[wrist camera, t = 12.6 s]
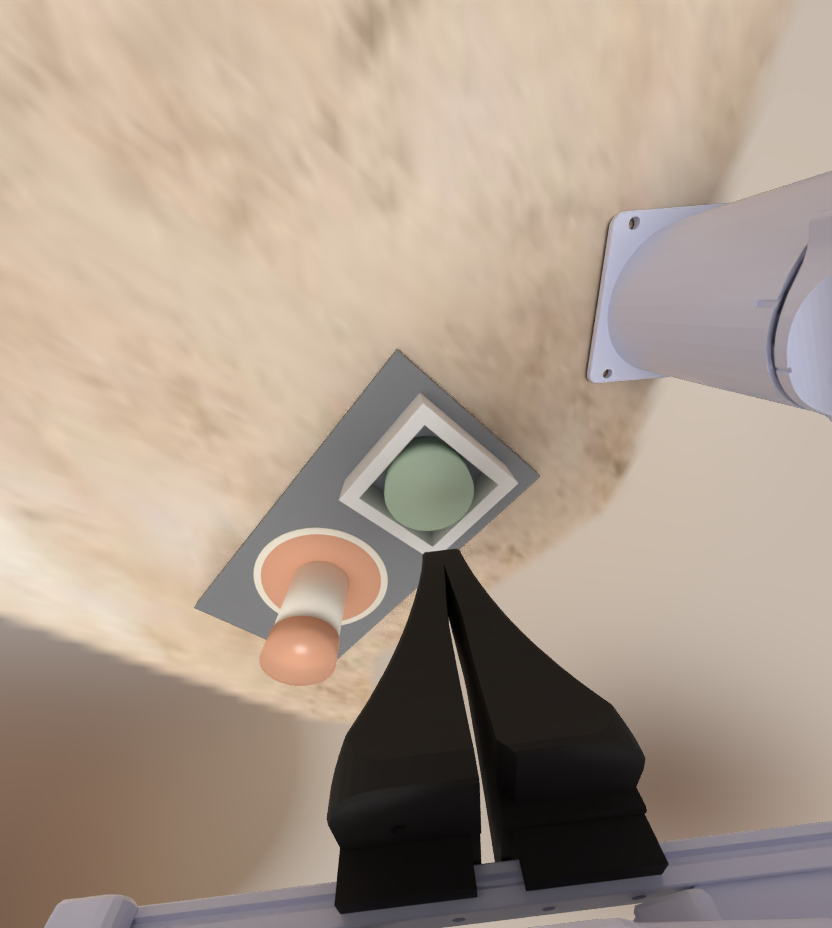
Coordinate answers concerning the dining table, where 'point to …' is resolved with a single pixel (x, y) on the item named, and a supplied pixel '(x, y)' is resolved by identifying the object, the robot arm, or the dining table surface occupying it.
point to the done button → (428, 485)
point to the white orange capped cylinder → (307, 626)
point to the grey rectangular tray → (365, 508)
